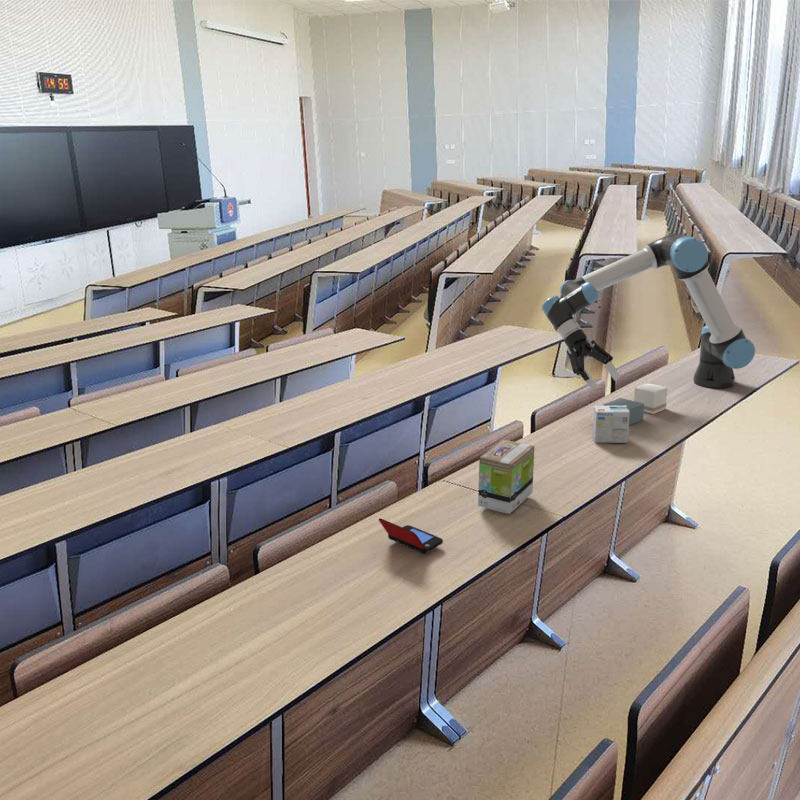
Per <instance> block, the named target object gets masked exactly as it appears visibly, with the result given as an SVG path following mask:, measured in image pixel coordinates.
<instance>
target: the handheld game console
mask: <svg viewBox="0 0 800 800" xmlns="http://www.w3.org/2000/svg"><path fill="white" fill-rule="evenodd" d="M378 521H379V523H380V525H381V526H382V527H383V528H384V530H385V532H386V533H387V537H388V539H389V540H391V541H394V542H397V543H399V544H400V543H401V545H403V544H405V545H404V546H407V545H408V547H409V548H410V547H411V548H410V549H412V550H414V551H416V550H417V551H416V552H419V553H421V554H425V555H426V554H427V553H429V552H430V551H432V550H434V549H435V548H437V547H438V546H441V545H443V542H444V540H443V538H441V537H438V536H437V535H434V534H432V533H429V532H427V531H425V530H422V529H420V528H417V527H414V526H412V525H409V524H408V525H404V526H399V525H397V524H396V523H393V522H390V521H387V520H385V519H383V518H378Z"/></svg>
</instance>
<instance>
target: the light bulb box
mask: <svg viewBox="0 0 800 800" xmlns="http://www.w3.org/2000/svg"><path fill="white" fill-rule="evenodd" d="M629 415H630V412H629V410H628V408H627V406H626V405H623V406H603V405H597V404H595V405H593V423H592V424H593V427H592V430H593V431H592V432H593V433H592V436H593V440H594V442H595V443H606V444H607V443H614V444H615V443H617V444H619V443H621V444H622V443H623V444H624V443H626V444H627V443H629V429H630V425H629Z"/></svg>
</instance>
